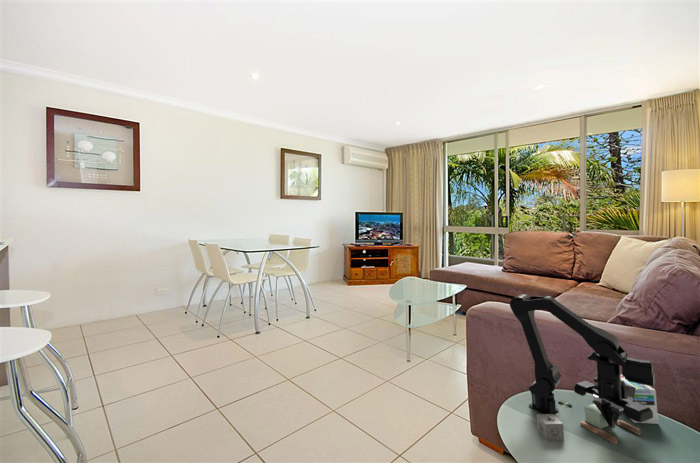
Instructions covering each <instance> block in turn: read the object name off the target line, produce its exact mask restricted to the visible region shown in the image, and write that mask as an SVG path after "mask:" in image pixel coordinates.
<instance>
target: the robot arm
mask: <svg viewBox="0 0 700 463" xmlns="http://www.w3.org/2000/svg"><path fill="white" fill-rule="evenodd" d="M509 307H510V310H511V312H512V313H513V315H514V317H515V318H516V319H517V320H518V321H519V323H520V325H521V328H522V330H523V333H524V337H525V339H526V343H527V345H528V348H529V351H530V354H531V357H532V359H533V360H532V361H533V363H534V381H533V382H532V383H531V384H530V385H529V387H528V389H529V391H530V394H531V403H529V404H528V407H530V408H531V409H533V410H535V411H536V412H538V413H539V414H554V413H557V412H559V409H558V408H557V407H556V399H555V393H554V391H555V390H556V388H557V386H559V384H560V383H561V377H562V374H561V373H560V370H559V367H558V366H559V365H558V364H556V363H555V364H553V363H552V362H551V361H550V359H549V358H548V354H547V352H546V349H545V346H544V343H543V339H542V337H541V335H540V332H539V329H538V326H537V323H536V320H535V311H543V310H544V311H547V312H548V313H550V314H551V315H552V316H553V317H555V318H557V320H560V321H561V322H562V323H563V324H565V325H566V326H567V327H569V329H572V330H573V331H574V332H576V333H577V334H578V335H579V336H581V338H583V340H584V342H585V343H586V344H587V345H588V346H589V347H590V348H591V349H592V350H593V351H592V352H591V353H589V355H588V356H587V360H588V361H589V360H591V361H594V362H595V369H596V370H595V372H596V377H594V378H593V382H594V383H592V382H590V381H587V380H582V381H580V382H577V383H575V384H574V385H573V391H574V393H575V394H577V395H580V396H582V397H584V396H586V395H587V394H590V395H592V397H593V400H592V402H591V403H592V404H595V405H596V406H597V408H598V409H599V411H600V412H601V414H602V415H603V417H604V418H605V420H606V422H607V423H608V425H609V428H611V429H614V428H615V427H616V425H617V424H616V423H617V421H618V420H619V418H620V416H621V415H622V414H624V415H625V416H626V417H627V418H628V419H630V420H631V419H633V420H635V421H637V422H643V421H646V420H648V419H651V418H653V412H652V410H651V409H650V408H649V407H647V406H645V405H643V404H640V403H638V402H632V403H628V402H627V401H624V400H622V399H627V398H628V396H629V397H632V398H634V397H635V390H636V388H635V387H633V386H630V385H628V384H625V382H624V381H623V380H621V376H620V375H623V377H625V379H626V380H628V381H629V382H634V383H638V384H643V385H647V386H650V387H652V388H654V387H656V386H655V383H656V382H655V380H656V379H655V376H656V375H655V370H654V367H653V366H654V365H653V361H652V360H647V359H640V358H633V357H629V354H628V352H626V350H625V349H624V348H623V347H622V346H621V345H620V342H619V339H618V338H617V336H615V335H614V334H612V333H610V332H609V331H607V330H605V329H602V328H600V327H598V326H595V325H592V324H591V323H589V322H588V321H586V320H584V319H583V318H581V317H580V316H579V315H577V314H576V313H575V312H573V311H572V310H571V309H569V308H567V307H566V306H565V305H563V304H562V303H561V302H559V301H558V300H557V299H555V298H554V296H553V297H552V295H551V296H550V295H544V296H540V295H528V294H526V293H521V294H519V295H517V296H514V297H513V298H512V299H510V302H509ZM621 373H622V374H621ZM596 384H597V385H596Z"/></svg>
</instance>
